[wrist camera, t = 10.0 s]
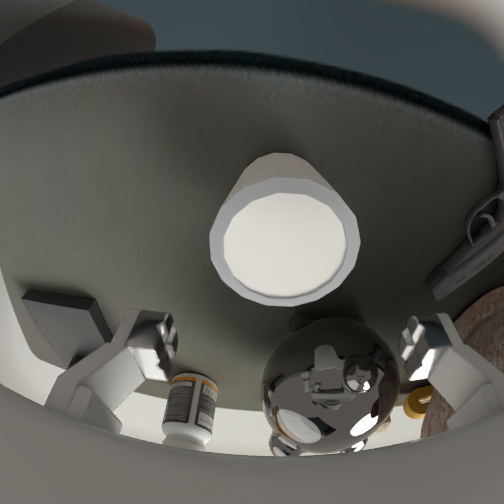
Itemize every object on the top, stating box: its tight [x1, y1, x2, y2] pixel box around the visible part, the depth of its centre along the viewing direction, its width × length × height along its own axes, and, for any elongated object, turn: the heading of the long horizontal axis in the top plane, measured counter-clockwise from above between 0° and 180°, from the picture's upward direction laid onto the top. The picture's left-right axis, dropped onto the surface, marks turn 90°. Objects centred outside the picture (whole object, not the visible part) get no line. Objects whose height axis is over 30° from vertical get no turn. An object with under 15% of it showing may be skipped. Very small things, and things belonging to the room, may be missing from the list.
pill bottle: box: [162, 373, 217, 452], centre depth 28 cm, size 6×6×10 cm
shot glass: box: [209, 153, 361, 307], centre depth 15 cm, size 7×7×7 cm
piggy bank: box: [261, 312, 400, 456], centre depth 21 cm, size 11×15×12 cm
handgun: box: [426, 105, 504, 302], centre depth 16 cm, size 2×17×12 cm
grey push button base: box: [21, 290, 113, 370], centre depth 28 cm, size 15×11×4 cm
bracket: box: [403, 385, 435, 419], centre depth 29 cm, size 15×4×8 cm
